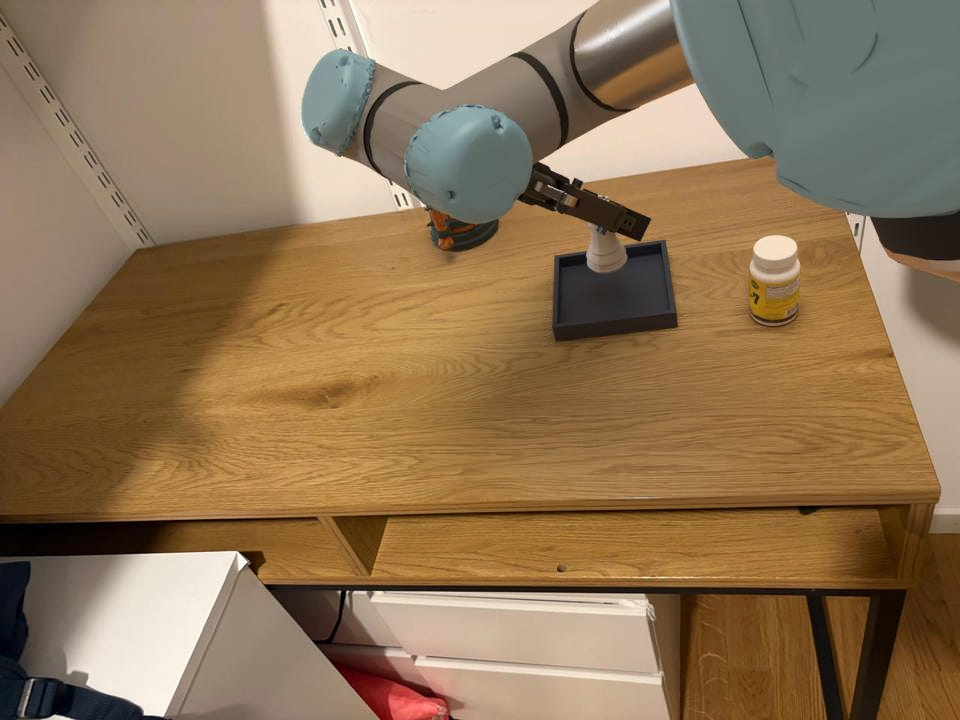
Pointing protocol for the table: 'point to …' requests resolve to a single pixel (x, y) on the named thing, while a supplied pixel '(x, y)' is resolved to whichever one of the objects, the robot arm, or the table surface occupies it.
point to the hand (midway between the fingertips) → (630, 222)
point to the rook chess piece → (605, 250)
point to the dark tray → (613, 294)
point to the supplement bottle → (774, 281)
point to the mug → (458, 232)
